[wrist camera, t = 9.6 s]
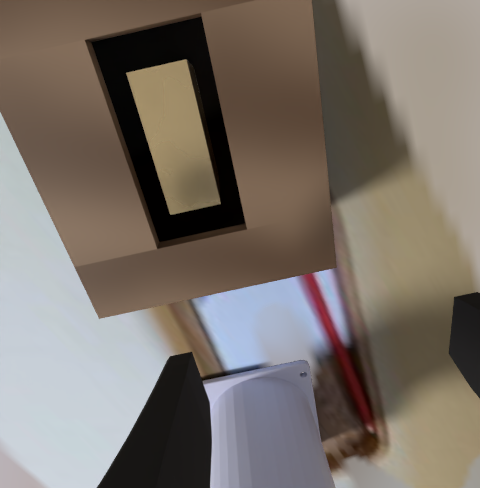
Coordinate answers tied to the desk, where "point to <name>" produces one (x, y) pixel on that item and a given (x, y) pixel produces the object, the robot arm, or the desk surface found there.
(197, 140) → the block
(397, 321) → the desk surface
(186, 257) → the walnut coin box
